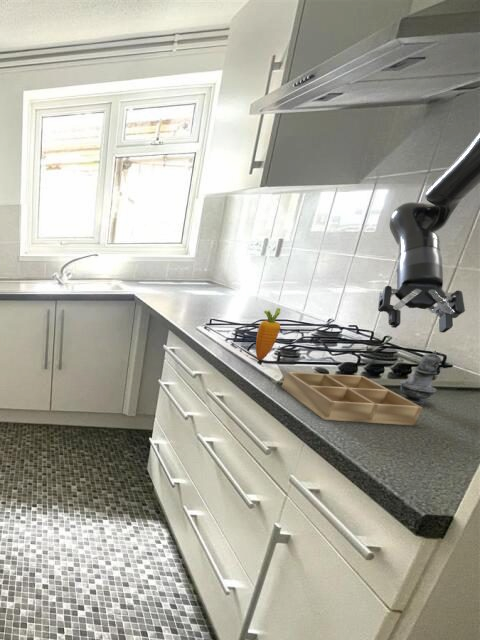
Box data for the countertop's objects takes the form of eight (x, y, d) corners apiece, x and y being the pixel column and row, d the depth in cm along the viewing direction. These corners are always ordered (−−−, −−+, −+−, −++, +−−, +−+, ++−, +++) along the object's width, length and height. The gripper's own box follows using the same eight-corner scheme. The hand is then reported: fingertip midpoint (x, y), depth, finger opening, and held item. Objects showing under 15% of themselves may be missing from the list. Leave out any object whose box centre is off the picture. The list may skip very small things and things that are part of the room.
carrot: (253, 363, 116) (269, 310, 110) (246, 357, 120) (261, 305, 114) (273, 364, 115) (290, 311, 109) (264, 358, 120) (280, 306, 114)
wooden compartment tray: (356, 391, 99) (363, 375, 97) (413, 425, 84) (423, 407, 82) (281, 387, 101) (286, 371, 99) (324, 419, 86) (331, 402, 84)
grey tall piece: (404, 405, 92) (429, 354, 87) (387, 394, 98) (409, 345, 93) (436, 407, 91) (463, 356, 86) (417, 396, 96) (441, 347, 91)
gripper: (390, 259, 101) (389, 316, 96) (471, 263, 95) (474, 323, 90) (373, 278, 107) (371, 332, 103) (448, 282, 102) (450, 340, 97)
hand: (419, 328), depth 96 cm, fingers open, 8 cm apart
